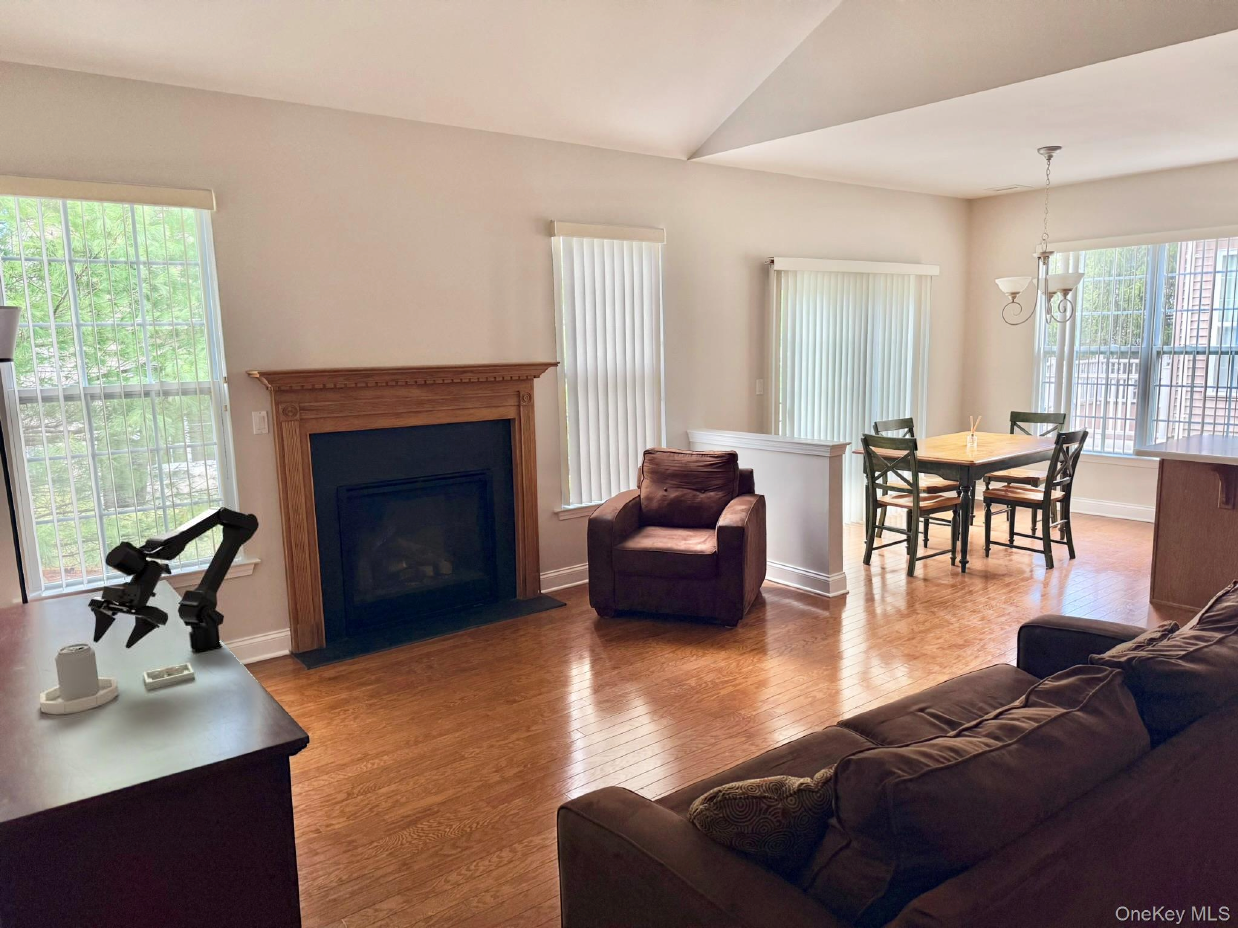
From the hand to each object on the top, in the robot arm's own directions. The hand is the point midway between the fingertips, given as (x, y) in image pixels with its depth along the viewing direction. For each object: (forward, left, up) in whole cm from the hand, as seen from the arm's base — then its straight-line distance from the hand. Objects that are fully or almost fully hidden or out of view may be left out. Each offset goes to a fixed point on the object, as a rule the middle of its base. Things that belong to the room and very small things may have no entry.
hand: (111, 644), depth 197 cm
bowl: (+7, +6, -10) cm, 14 cm away
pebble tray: (-11, +5, -10) cm, 15 cm away
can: (+7, +6, -9) cm, 13 cm away
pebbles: (-11, +5, -10) cm, 15 cm away
